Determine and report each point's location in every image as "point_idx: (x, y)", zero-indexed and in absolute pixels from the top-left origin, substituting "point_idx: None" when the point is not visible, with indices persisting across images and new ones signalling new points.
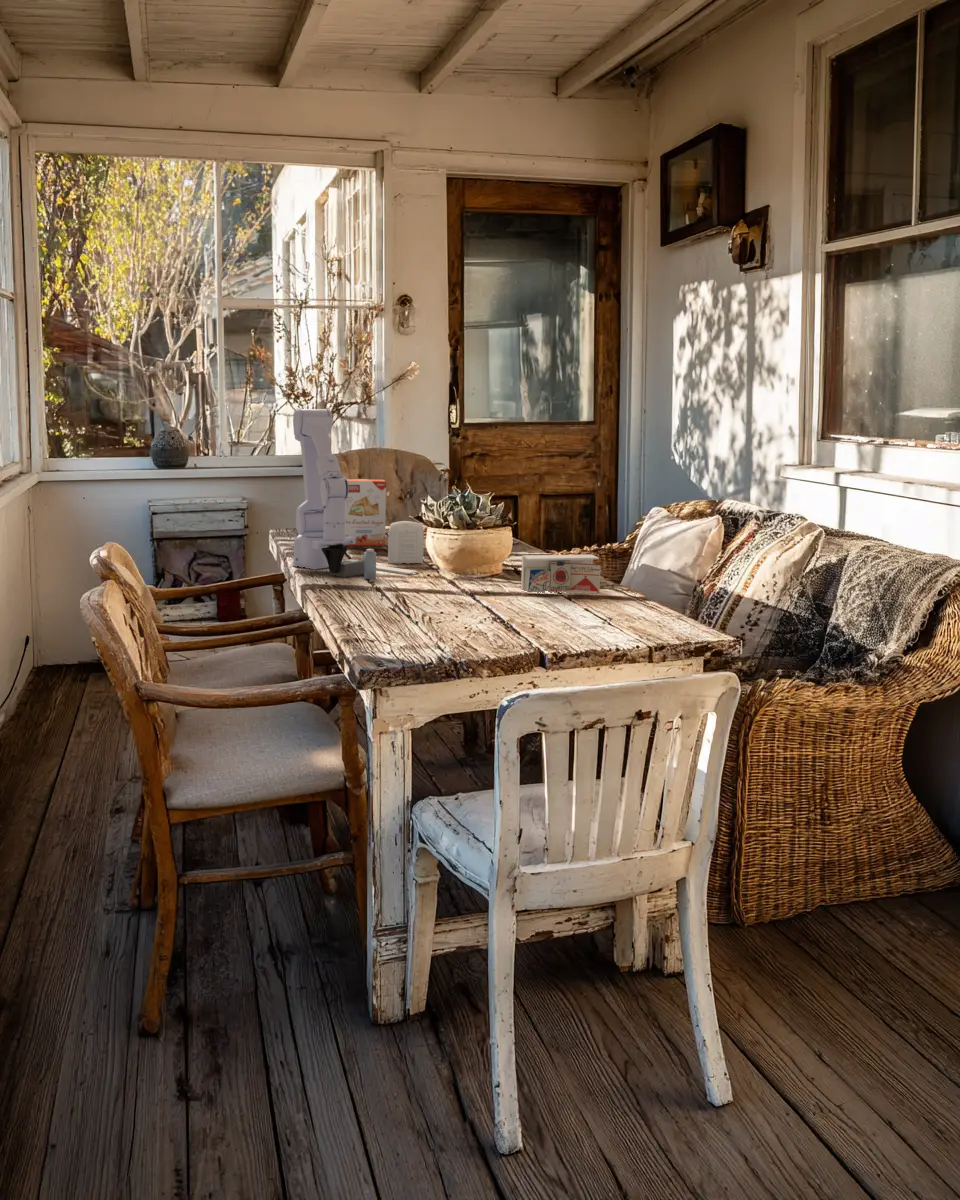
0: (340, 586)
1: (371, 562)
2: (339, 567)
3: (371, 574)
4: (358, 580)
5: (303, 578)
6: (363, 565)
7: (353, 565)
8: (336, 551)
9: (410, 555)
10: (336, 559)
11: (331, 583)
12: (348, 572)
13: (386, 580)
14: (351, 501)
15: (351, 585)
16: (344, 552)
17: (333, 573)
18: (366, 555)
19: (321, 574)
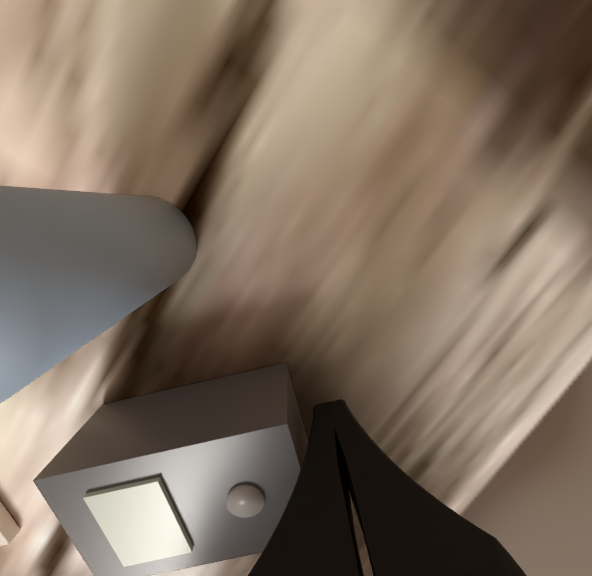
0: (547, 53)
1: (70, 195)
2: (317, 427)
3: (145, 198)
4: (275, 210)
5: (503, 438)
6: (77, 445)
7: (184, 430)
8: (474, 546)
9: None
10: (384, 471)
11: (503, 211)
12: (248, 386)
13: (71, 78)
14: None
15: (453, 39)
16: (281, 555)
17: None
18: (61, 261)
19: None
